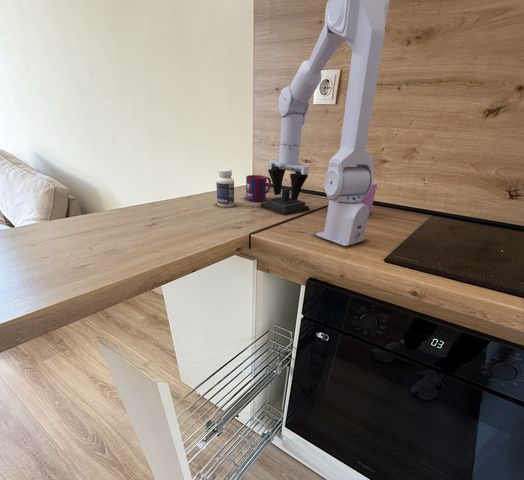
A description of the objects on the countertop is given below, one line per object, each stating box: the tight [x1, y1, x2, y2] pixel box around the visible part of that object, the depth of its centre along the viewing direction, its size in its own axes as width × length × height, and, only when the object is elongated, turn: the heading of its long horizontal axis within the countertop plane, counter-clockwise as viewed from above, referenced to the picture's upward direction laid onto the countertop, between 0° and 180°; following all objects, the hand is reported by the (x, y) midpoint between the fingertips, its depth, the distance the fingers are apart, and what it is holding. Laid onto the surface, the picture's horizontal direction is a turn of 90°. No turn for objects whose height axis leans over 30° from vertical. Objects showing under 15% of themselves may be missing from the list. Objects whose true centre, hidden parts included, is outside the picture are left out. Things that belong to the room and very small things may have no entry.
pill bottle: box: [215, 168, 235, 208], centre depth 93 cm, size 5×5×10 cm
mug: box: [245, 174, 272, 203], centre depth 103 cm, size 7×10×7 cm
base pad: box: [260, 196, 310, 216], centre depth 96 cm, size 11×11×2 cm
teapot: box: [361, 182, 378, 213], centre depth 93 cm, size 18×14×10 cm
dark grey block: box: [274, 188, 296, 205], centre depth 95 cm, size 5×5×4 cm
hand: (285, 197), depth 95 cm, fingers open, 7 cm apart
